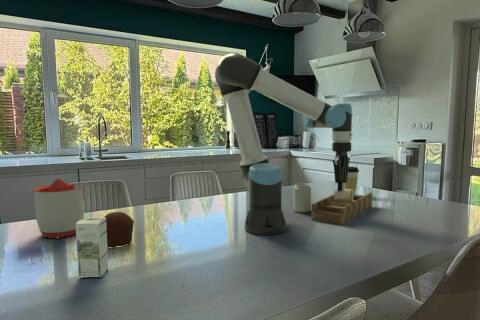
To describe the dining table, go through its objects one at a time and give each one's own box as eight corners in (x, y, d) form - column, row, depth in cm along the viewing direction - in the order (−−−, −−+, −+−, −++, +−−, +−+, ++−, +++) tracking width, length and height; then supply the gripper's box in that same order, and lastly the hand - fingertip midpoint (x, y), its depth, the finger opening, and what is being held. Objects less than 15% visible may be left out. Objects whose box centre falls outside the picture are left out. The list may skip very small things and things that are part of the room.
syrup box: (109, 269, 91) (106, 216, 90) (101, 279, 86) (98, 222, 84) (87, 269, 91) (84, 216, 90) (78, 279, 85) (74, 222, 84)
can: (309, 209, 154) (310, 182, 152) (311, 213, 146) (311, 185, 145) (293, 208, 154) (293, 182, 153) (293, 213, 147) (294, 185, 146)
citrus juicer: (99, 230, 125) (96, 176, 123) (50, 244, 111) (46, 183, 109) (75, 223, 134) (72, 173, 132) (27, 236, 120) (23, 179, 118)
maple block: (347, 206, 142) (348, 191, 141) (334, 204, 145) (334, 190, 145) (353, 203, 146) (353, 189, 146) (339, 201, 150) (339, 188, 149)
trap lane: (343, 225, 128) (343, 208, 128) (311, 219, 136) (311, 203, 136) (372, 206, 157) (372, 192, 156) (344, 202, 165) (344, 189, 164)
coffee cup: (360, 194, 184) (361, 167, 182) (355, 198, 175) (356, 169, 174) (341, 192, 189) (342, 165, 187) (336, 196, 181) (337, 167, 179)
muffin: (132, 248, 107) (131, 217, 106) (95, 251, 105) (93, 219, 104) (136, 236, 118) (135, 208, 117) (102, 238, 116) (100, 209, 115)
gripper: (344, 142, 132) (344, 202, 135) (356, 141, 143) (355, 196, 145) (326, 142, 137) (326, 200, 139) (339, 140, 147) (338, 194, 150)
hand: (341, 198), depth 142 cm, fingers closed
